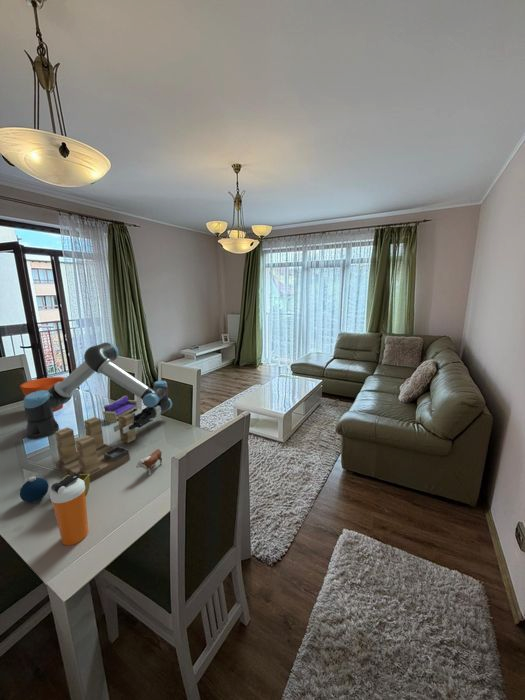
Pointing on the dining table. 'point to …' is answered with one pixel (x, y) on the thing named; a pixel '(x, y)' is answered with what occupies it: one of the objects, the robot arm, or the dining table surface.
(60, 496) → the shaker bottle
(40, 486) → the christmas ornament
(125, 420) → the stool leg
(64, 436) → the tan post-studded fixture
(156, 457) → the bull figurine
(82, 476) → the flower pot
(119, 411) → the toy sofa
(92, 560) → the dining table surface
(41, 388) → the flowerpot
